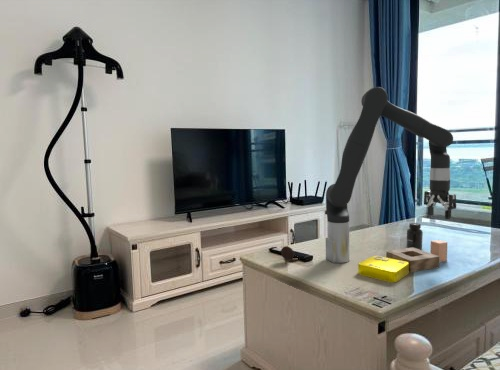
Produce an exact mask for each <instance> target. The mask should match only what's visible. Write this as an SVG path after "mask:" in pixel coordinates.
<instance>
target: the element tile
mask: <svg viewBox="0 0 500 370" xmlns="http://www.w3.org/2000/svg"><path fill="white" fill-rule="evenodd" d="M357 274H358V275H359V276H363V277H368V278H372V279H376V280H380V281H383V282H388V283H397V282H400V280H402V279H403V278H404V277H405V276H407V275H409V274H410V272H409V263H408V262H405V261H400V260H396V259H391V258H386V256H382V255H373V256H370V257H368V258H366V259H364V260H362V261H360V262H358V265H357Z"/></svg>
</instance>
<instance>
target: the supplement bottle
mask: <svg viewBox="0 0 500 370" xmlns="http://www.w3.org/2000/svg"><path fill="white" fill-rule="evenodd" d="M421 225H422V224H421V223H418V222H410V223H409V225H408V226H409V227H408V229H407V230H406V243H405V244H406V247H405V248H412V247H414V248H417V249H419V250H423V235H424V232H423V230H422V229H421V228H422V226H421Z"/></svg>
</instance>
